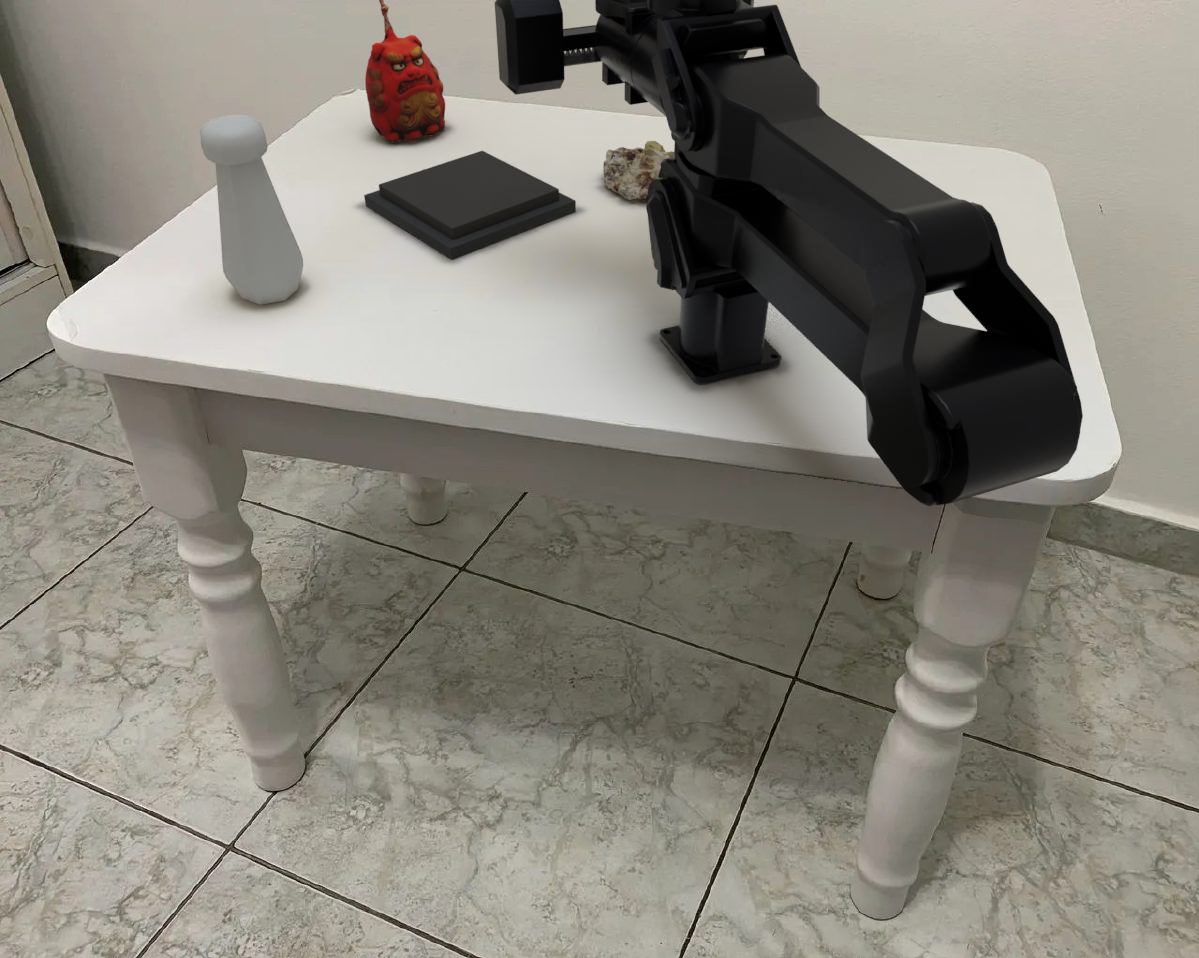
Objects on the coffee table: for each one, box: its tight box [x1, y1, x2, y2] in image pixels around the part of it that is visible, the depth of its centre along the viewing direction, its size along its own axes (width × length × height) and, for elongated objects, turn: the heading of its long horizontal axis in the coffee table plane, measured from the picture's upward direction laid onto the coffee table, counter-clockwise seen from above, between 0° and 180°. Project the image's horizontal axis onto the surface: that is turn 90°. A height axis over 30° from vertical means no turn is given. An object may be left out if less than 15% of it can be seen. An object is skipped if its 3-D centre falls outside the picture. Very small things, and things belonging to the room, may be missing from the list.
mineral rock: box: [602, 140, 674, 201], centre depth 89 cm, size 11×4×8 cm
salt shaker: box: [199, 114, 304, 306], centre depth 72 cm, size 6×6×13 cm
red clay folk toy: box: [364, 0, 446, 143], centre depth 95 cm, size 8×7×15 cm
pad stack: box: [363, 150, 577, 260], centre depth 86 cm, size 13×13×2 cm
